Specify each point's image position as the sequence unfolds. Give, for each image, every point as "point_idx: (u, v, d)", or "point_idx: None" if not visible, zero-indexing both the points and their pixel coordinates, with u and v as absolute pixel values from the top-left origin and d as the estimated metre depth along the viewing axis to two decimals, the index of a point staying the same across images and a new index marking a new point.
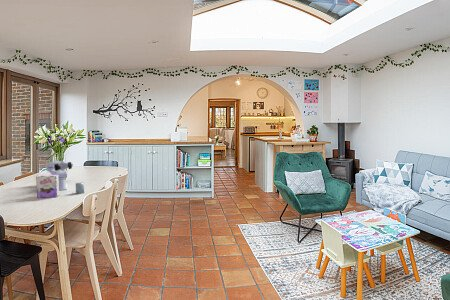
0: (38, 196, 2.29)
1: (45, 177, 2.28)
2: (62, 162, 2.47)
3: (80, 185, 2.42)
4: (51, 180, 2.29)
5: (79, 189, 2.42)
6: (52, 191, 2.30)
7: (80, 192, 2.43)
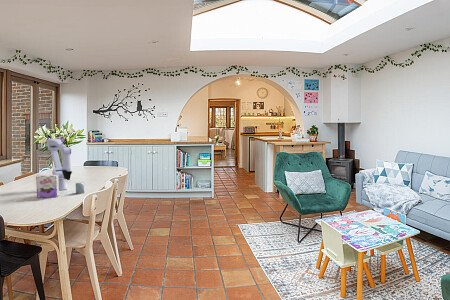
0: (38, 196, 2.29)
1: (45, 177, 2.28)
2: (62, 169, 2.44)
3: (80, 185, 2.42)
4: (51, 180, 2.29)
5: (79, 189, 2.42)
6: (52, 191, 2.30)
7: (80, 192, 2.43)
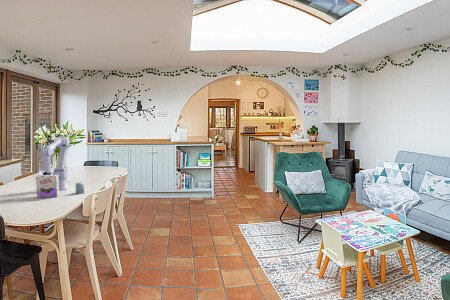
0: (38, 196, 2.29)
1: (45, 177, 2.28)
2: (42, 170, 2.35)
3: (80, 185, 2.42)
4: (51, 180, 2.29)
5: (79, 189, 2.42)
6: (52, 191, 2.30)
7: (80, 192, 2.43)
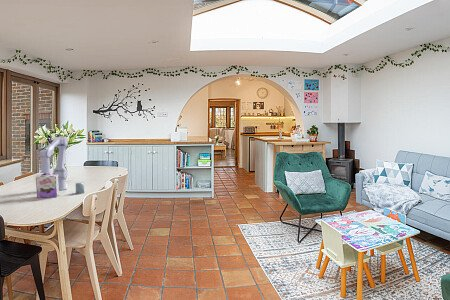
0: (38, 196, 2.28)
1: (45, 177, 2.27)
2: (41, 172, 2.33)
3: (80, 185, 2.42)
4: (51, 180, 2.29)
5: (79, 189, 2.42)
6: (52, 191, 2.30)
7: (80, 192, 2.43)
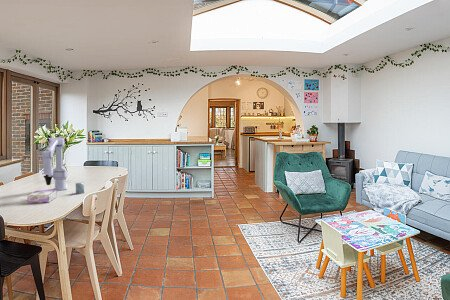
0: None
1: (38, 202, 2.15)
2: None
3: (80, 185, 2.42)
4: None
5: (79, 189, 2.42)
6: None
7: (80, 192, 2.43)
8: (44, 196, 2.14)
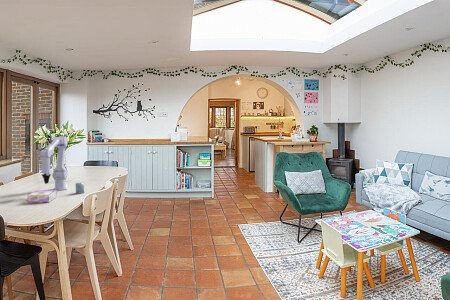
0: None
1: (38, 202, 2.15)
2: (41, 172, 2.33)
3: (80, 185, 2.42)
4: None
5: (79, 189, 2.42)
6: None
7: (80, 192, 2.43)
8: (44, 196, 2.14)
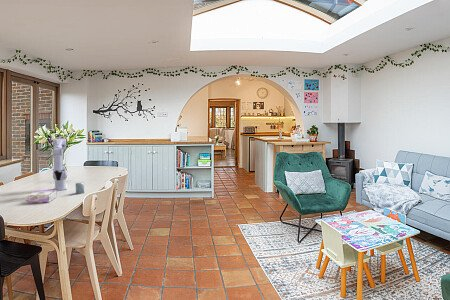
0: None
1: (38, 202, 2.15)
2: (53, 170, 2.40)
3: (80, 185, 2.42)
4: None
5: (79, 189, 2.42)
6: None
7: (80, 192, 2.43)
8: (44, 196, 2.14)
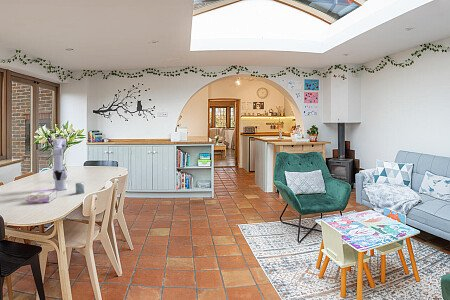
0: None
1: (38, 202, 2.15)
2: (53, 170, 2.40)
3: (80, 185, 2.42)
4: None
5: (79, 189, 2.42)
6: None
7: (80, 192, 2.43)
8: (44, 196, 2.14)
